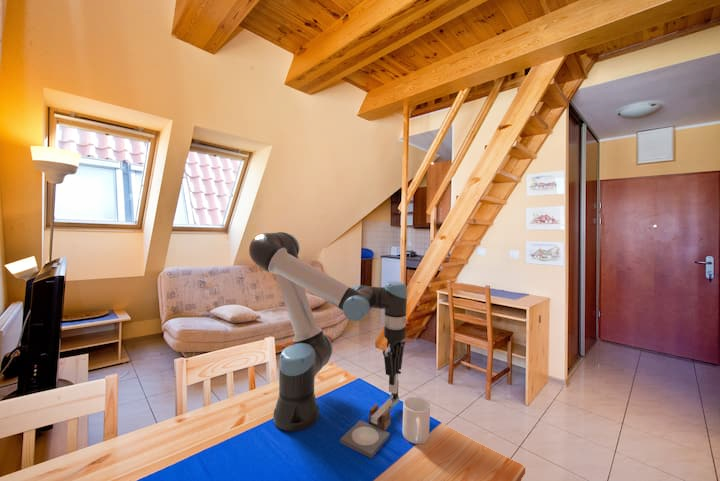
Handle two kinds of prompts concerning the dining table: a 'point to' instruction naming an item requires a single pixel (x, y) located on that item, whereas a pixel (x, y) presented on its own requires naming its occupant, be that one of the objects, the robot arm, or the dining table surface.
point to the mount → (385, 418)
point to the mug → (416, 420)
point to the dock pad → (365, 438)
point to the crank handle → (385, 408)
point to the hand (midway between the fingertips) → (393, 391)
